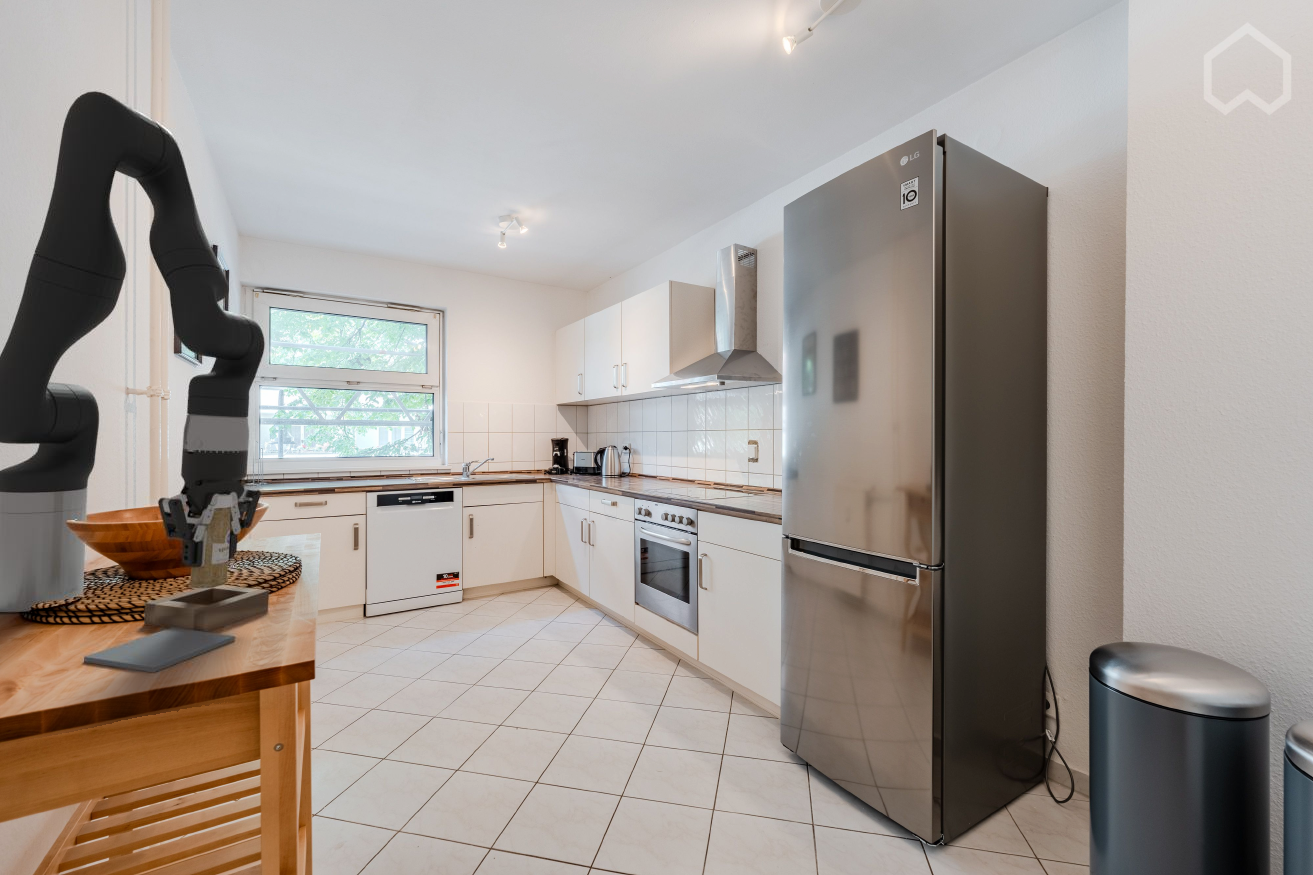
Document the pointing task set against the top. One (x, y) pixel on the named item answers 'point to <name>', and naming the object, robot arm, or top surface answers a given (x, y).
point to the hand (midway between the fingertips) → (209, 561)
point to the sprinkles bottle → (214, 547)
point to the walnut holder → (206, 607)
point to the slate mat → (159, 649)
